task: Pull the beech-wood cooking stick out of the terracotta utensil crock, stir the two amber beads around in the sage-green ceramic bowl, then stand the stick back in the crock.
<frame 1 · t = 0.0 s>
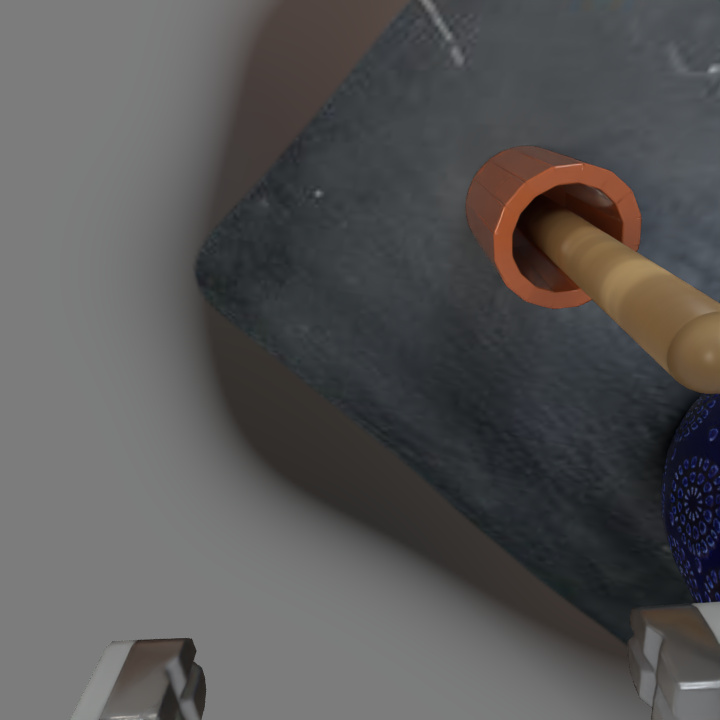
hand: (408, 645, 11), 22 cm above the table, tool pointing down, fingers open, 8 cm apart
stick: (523, 205, 29), point 1 cm above the table, touching crock
crock: (520, 203, 29), on the table
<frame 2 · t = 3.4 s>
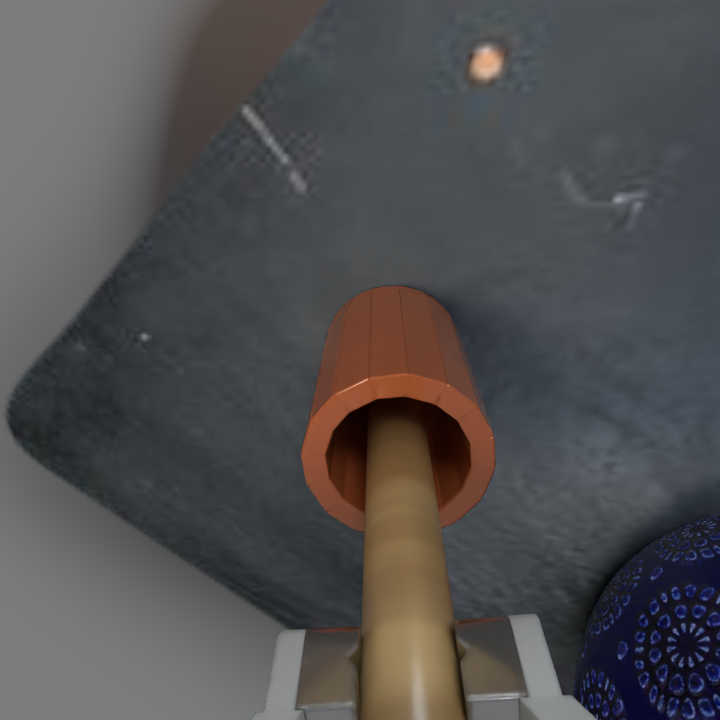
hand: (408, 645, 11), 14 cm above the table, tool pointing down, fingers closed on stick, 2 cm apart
stick: (392, 355, 23), point 1 cm above the table, touching crock, gripper
crock: (392, 349, 24), on the table
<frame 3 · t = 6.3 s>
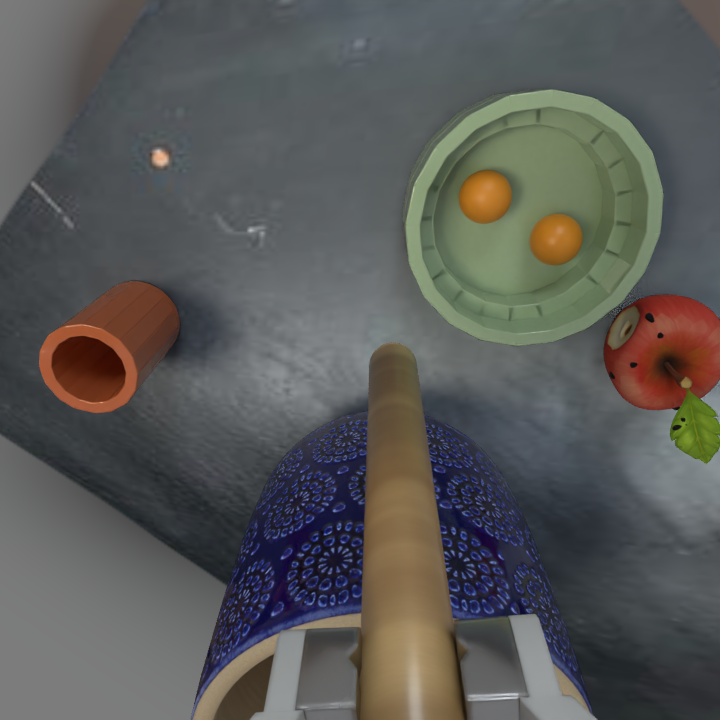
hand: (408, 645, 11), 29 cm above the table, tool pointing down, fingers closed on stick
apple: (637, 331, 40), on the table
bead b: (485, 197, 34), point 2 cm above the table, touching bowl
stick: (392, 356, 23), point 16 cm above the table, touching gripper
crock: (140, 319, 40), on the table
bead a: (555, 239, 35), point 2 cm above the table, touching bowl
planter: (385, 482, 45), on the table
bowl: (513, 211, 37), on the table
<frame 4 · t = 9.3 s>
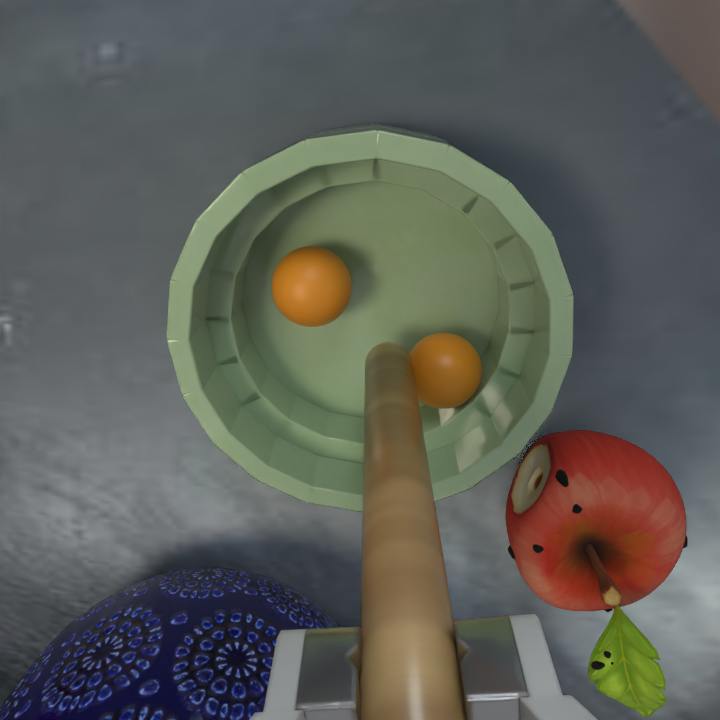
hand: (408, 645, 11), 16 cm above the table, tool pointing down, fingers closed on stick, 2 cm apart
apple: (563, 463, 28), on the table
bead b: (311, 286, 22), point 2 cm above the table, touching bowl
stick: (388, 355, 23), point 2 cm above the table, touching gripper
bead a: (443, 370, 24), point 2 cm above the table, tilted 45°, touching bowl
planter: (230, 646, 33), on the table
bowl: (370, 301, 25), on the table
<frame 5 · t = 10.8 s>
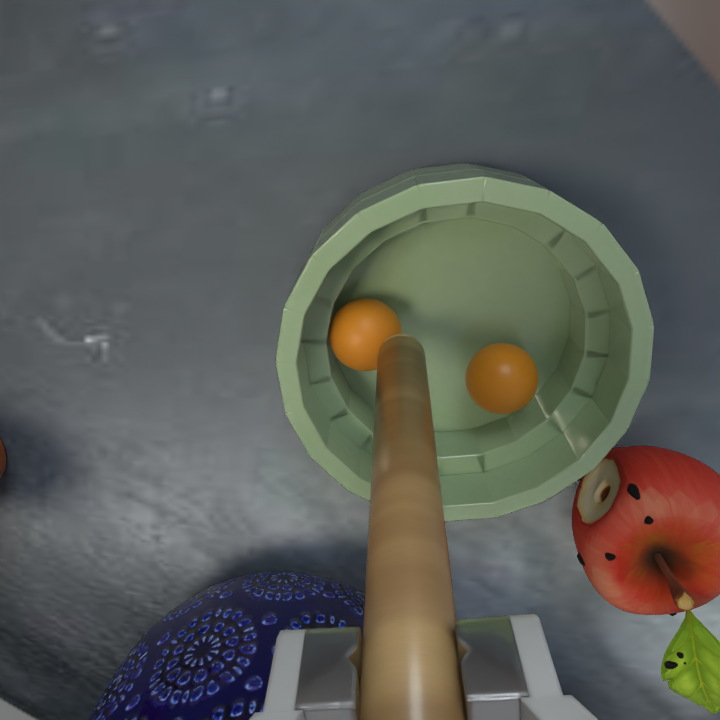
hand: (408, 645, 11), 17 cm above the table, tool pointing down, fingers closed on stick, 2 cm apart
apple: (620, 475, 30), on the table
bead b: (365, 334, 24), point 2 cm above the table, tilted 64°, touching bowl
stick: (401, 347, 23), point 3 cm above the table, touching gripper
bead a: (501, 378, 25), point 2 cm above the table, tilted 16°, touching bowl
planter: (293, 646, 35), on the table
bowl: (447, 323, 26), on the table
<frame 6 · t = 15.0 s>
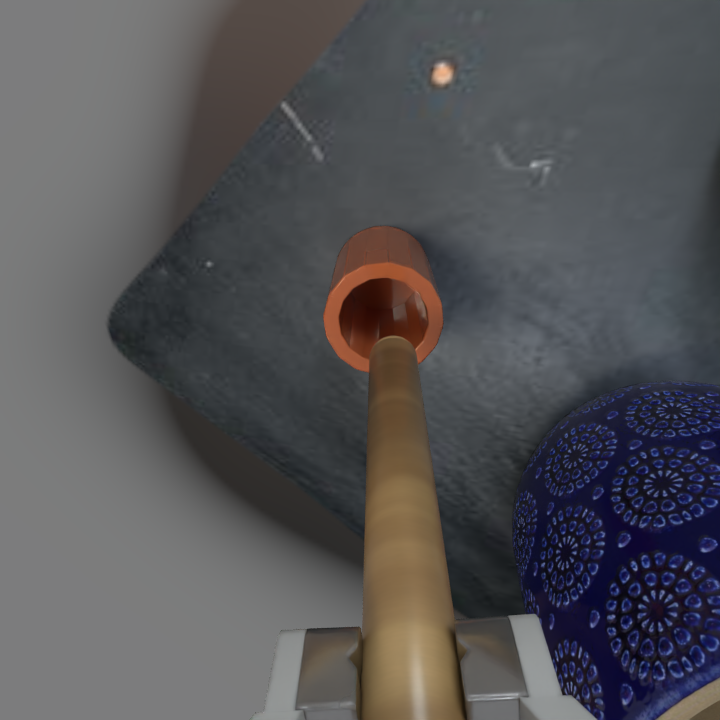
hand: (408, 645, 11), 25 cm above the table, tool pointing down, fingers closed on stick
stick: (392, 349, 23), point 12 cm above the table, touching gripper
crock: (382, 272, 34), on the table
planter: (628, 469, 40), on the table
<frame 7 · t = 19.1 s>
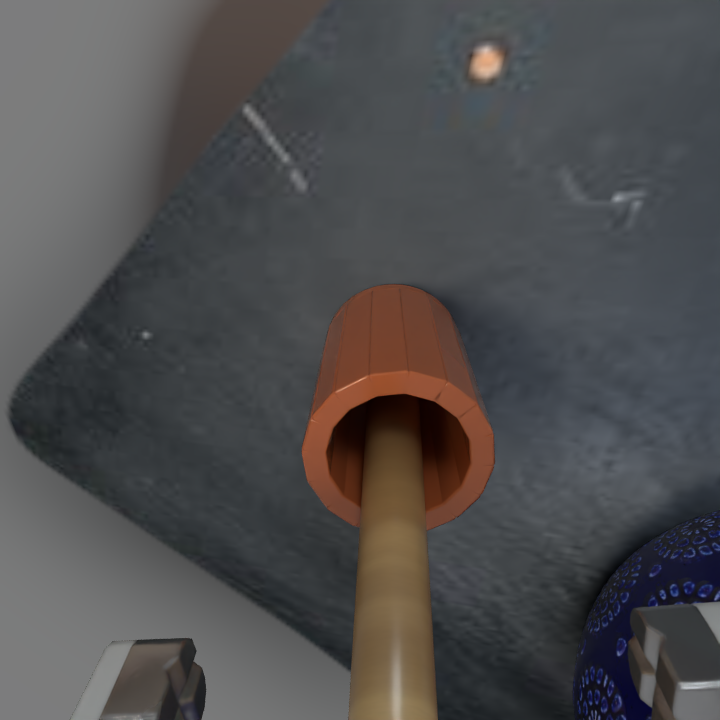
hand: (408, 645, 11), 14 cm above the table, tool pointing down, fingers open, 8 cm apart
stick: (393, 350, 23), point 1 cm above the table, tilted 10°, touching crock
crock: (392, 348, 24), on the table
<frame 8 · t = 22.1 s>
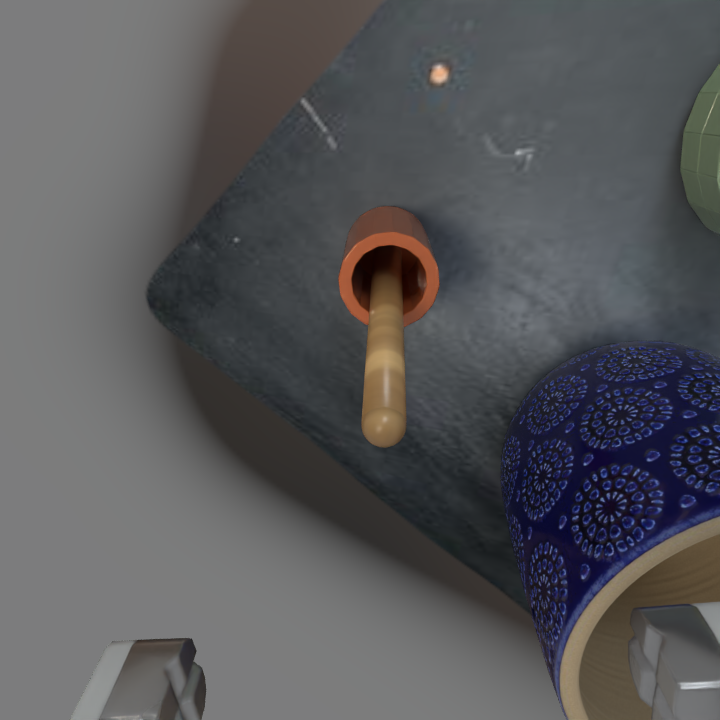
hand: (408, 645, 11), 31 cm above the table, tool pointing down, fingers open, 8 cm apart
stick: (387, 247, 39), point 1 cm above the table, tilted 10°, touching crock
crock: (387, 247, 39), on the table
planter: (605, 424, 45), on the table
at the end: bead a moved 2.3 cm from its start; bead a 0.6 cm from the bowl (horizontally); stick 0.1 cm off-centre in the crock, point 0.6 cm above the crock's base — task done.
